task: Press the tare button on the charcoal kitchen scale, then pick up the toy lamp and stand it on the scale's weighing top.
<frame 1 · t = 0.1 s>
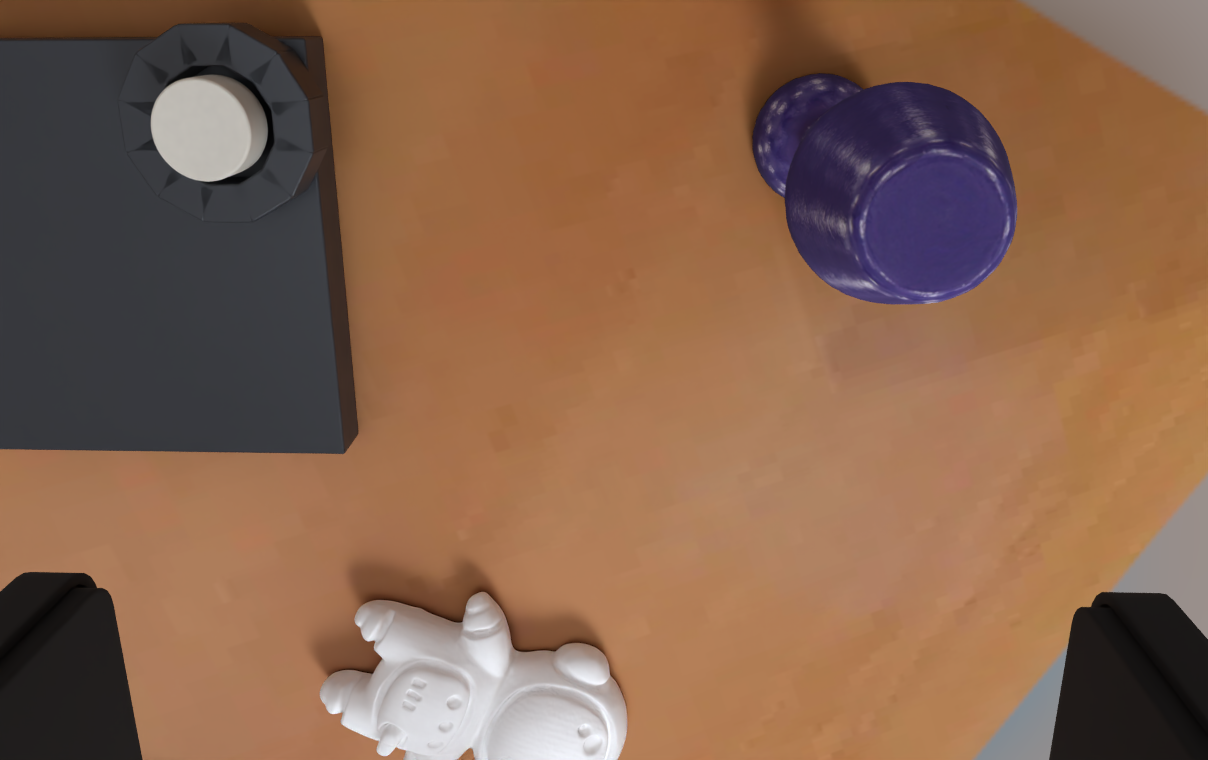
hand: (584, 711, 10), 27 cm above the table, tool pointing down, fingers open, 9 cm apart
scale: (145, 246, 37), on the table
toy lamp: (812, 129, 35), on the table
tare button: (210, 127, 32), point 4 cm above the table, slide at 0.1 cm
white flat figure: (480, 684, 43), on the table
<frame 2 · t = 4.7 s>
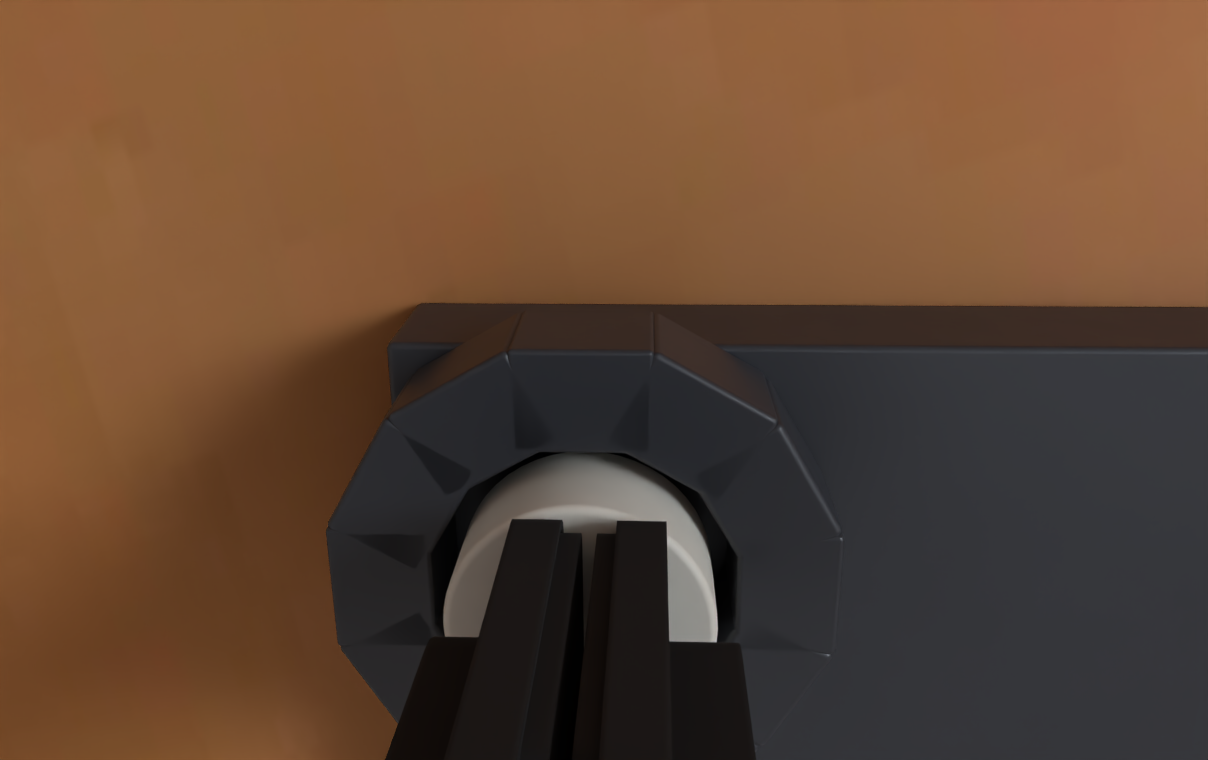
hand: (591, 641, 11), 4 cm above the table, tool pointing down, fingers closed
scale: (882, 728, 17), on the table
tare button: (583, 594, 12), point 4 cm above the table, slide at -0.3 cm, touching gripper
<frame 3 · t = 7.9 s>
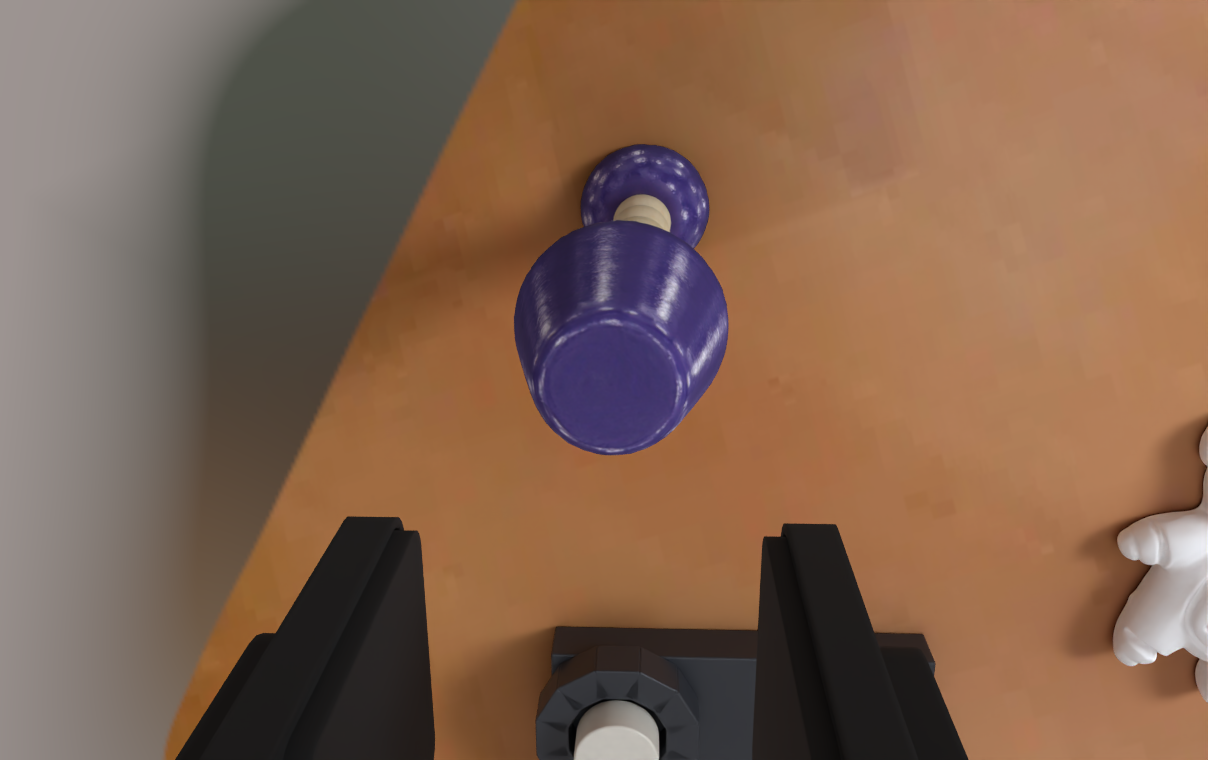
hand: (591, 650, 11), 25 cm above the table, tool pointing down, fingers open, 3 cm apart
toy lamp: (635, 211, 35), on the table
tare button: (617, 747, 38), point 4 cm above the table, slide at 0.1 cm
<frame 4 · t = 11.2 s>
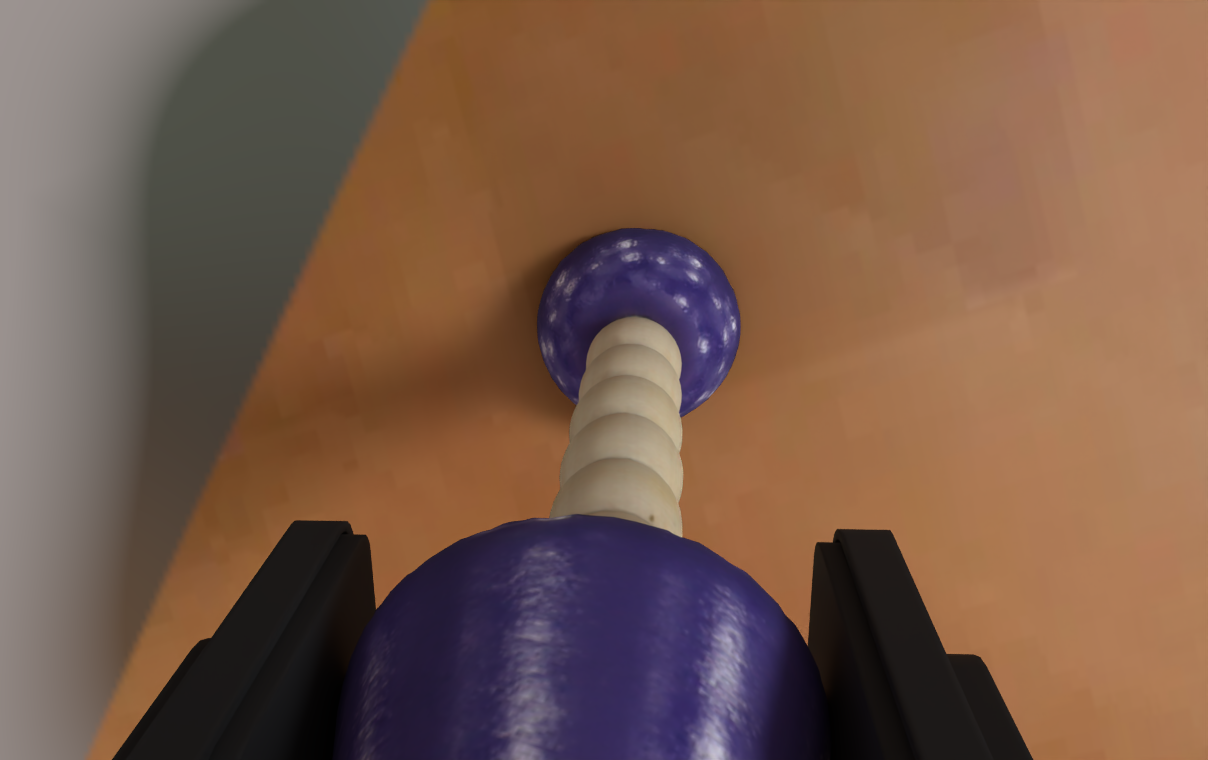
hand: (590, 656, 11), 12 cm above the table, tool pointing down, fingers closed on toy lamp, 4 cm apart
toy lamp: (623, 329, 22), on the table, touching gripper
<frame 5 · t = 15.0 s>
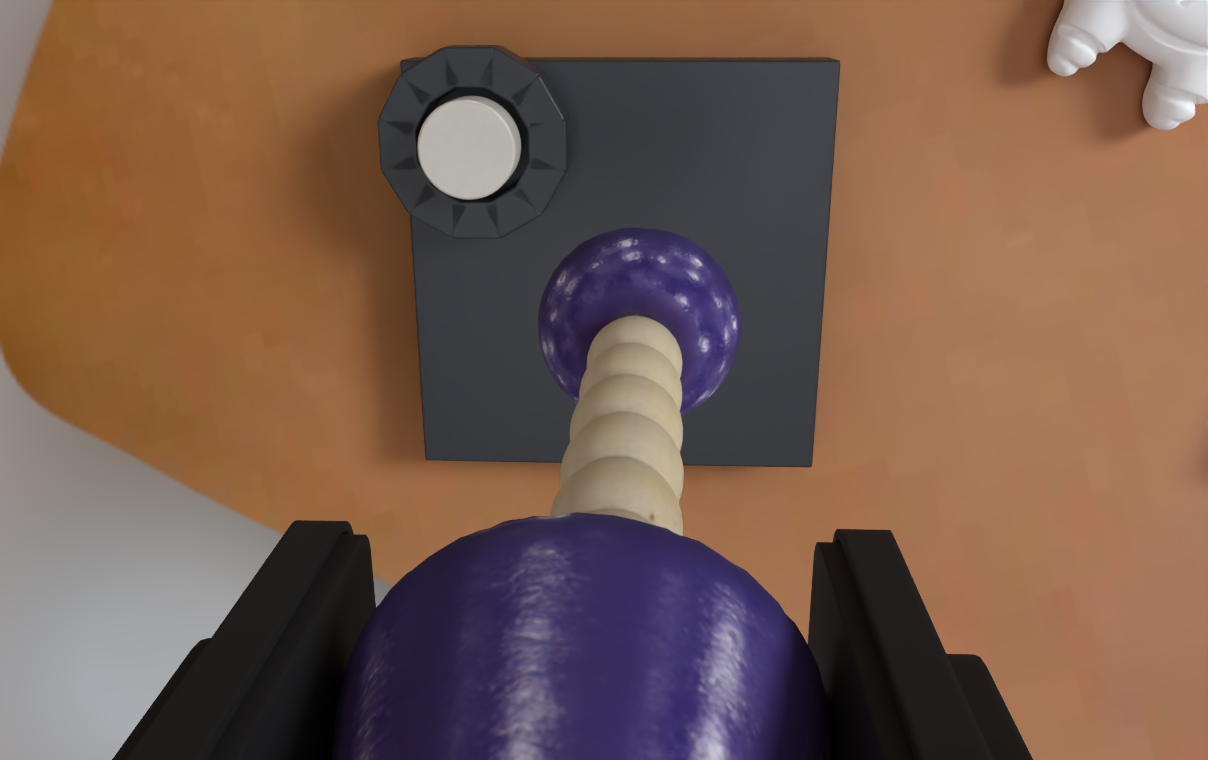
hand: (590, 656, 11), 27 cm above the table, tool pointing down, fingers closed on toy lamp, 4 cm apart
scale: (619, 262, 37), on the table
toy lamp: (624, 328, 22), point 15 cm above the table, touching gripper
tare button: (470, 147, 33), point 4 cm above the table, slide at 0.1 cm
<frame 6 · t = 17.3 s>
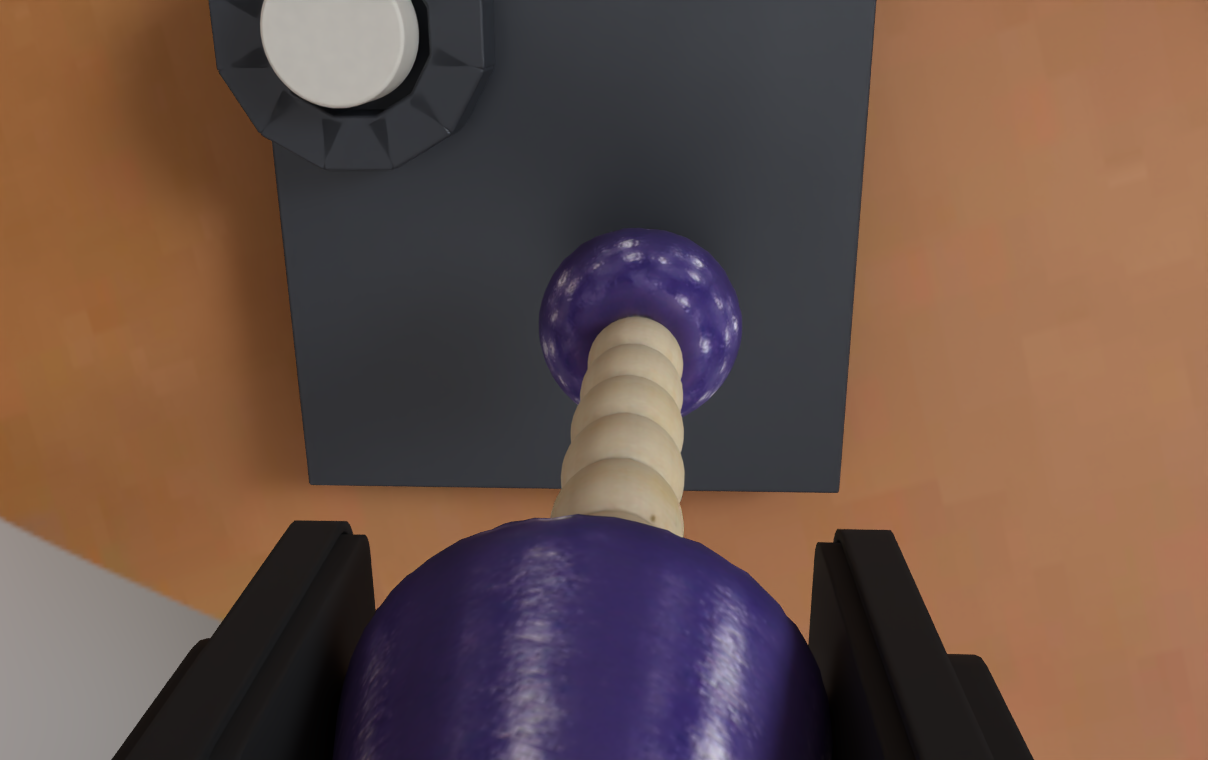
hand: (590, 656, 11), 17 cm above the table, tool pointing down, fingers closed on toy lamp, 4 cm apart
scale: (572, 211, 27), on the table
toy lamp: (624, 328, 22), point 5 cm above the table, touching gripper
tare button: (341, 32, 22), point 4 cm above the table, slide at 0.1 cm
when the fingers open (14 cm above the table, at t = 18.9 s): toy lamp stays where it is, resting on scale.
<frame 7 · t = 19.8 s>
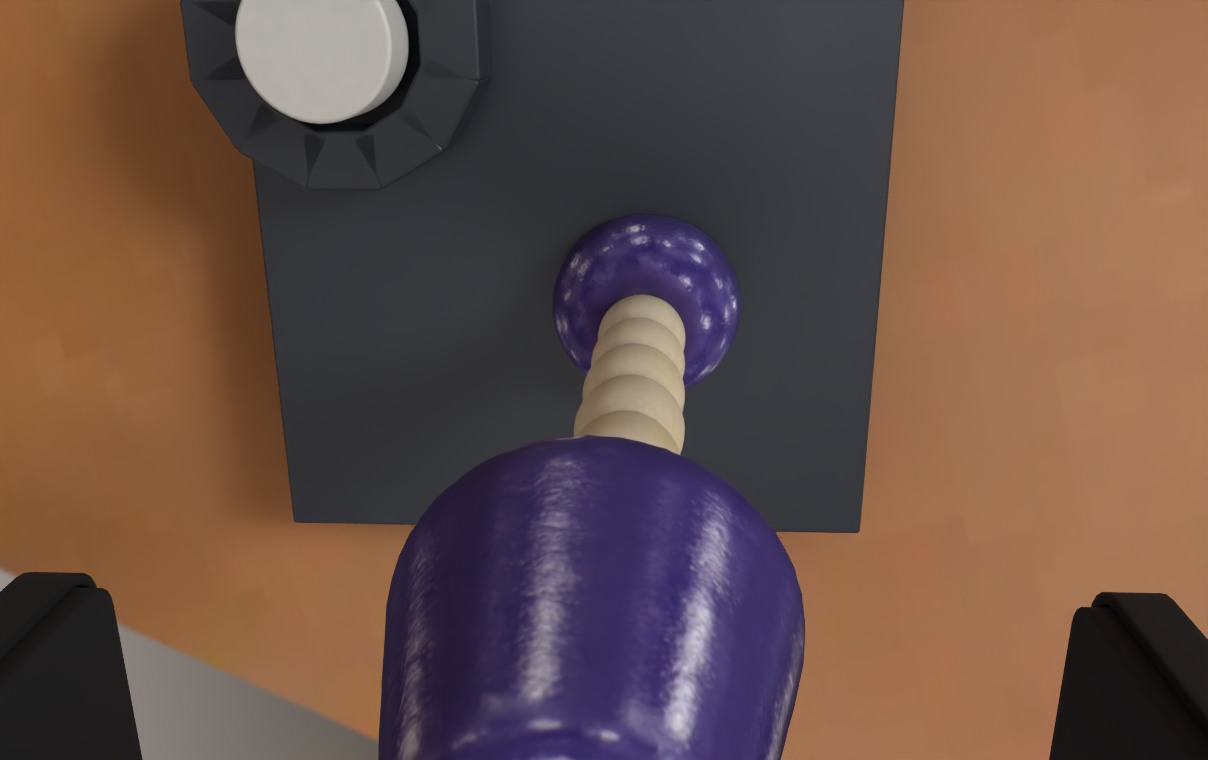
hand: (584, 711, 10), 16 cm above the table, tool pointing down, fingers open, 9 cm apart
scale: (574, 232, 25), on the table
toy lamp: (632, 308, 24), point 2 cm above the table, touching scale
tare button: (324, 41, 20), point 4 cm above the table, slide at 0.1 cm
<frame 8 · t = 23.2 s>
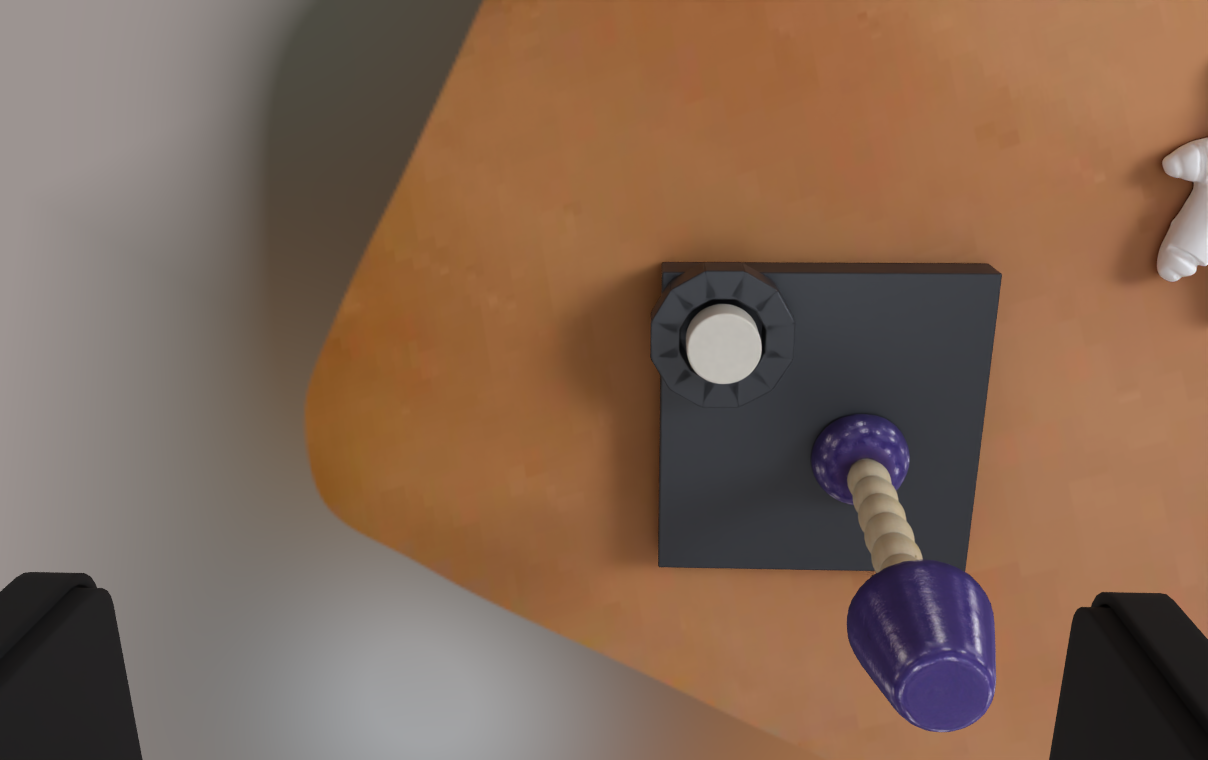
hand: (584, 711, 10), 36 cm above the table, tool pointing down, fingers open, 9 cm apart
scale: (814, 413, 48), on the table
toy lamp: (850, 457, 47), point 2 cm above the table, touching scale
tare button: (723, 343, 43), point 4 cm above the table, slide at 0.1 cm
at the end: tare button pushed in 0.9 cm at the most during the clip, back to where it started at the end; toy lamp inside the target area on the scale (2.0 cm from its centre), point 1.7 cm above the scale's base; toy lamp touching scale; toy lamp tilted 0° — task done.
